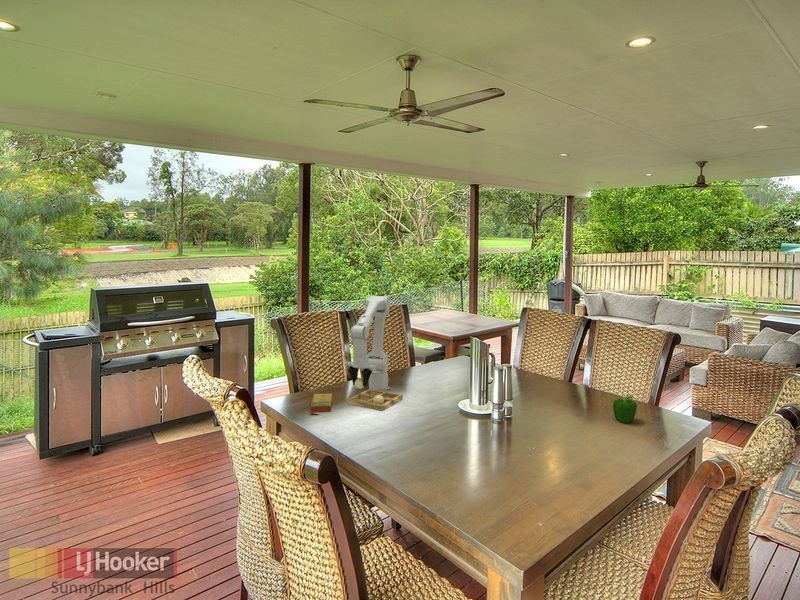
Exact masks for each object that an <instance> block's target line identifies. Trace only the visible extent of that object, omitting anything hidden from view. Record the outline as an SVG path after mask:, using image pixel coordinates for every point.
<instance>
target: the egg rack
mask: <svg viewBox="0 0 800 600" xmlns="http://www.w3.org/2000/svg"><path fill="white" fill-rule="evenodd" d="M376 395H381V396H382V397H383V398H384V403H383V405H378V404H374V403H373V398H374V397H375V396H376ZM403 397H404V396H403V394H400V393H394V392H389V391H385V390H372V389H369V388H368V389H367V390H365V391H362V392H360V393H359V394H356V395H353V396H352V397H350V398H347V405H348V406H354V407H359V408H363V409H368V410H374V411H379V412H383V411H385V410H387V409H389V408H390V407H392V406H393V405H396V404H397V403H399V402H401V401H402V400H403V399H404V398H403Z"/></svg>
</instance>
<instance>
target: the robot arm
mask: <svg viewBox="0 0 800 600" xmlns="http://www.w3.org/2000/svg"><path fill="white" fill-rule="evenodd" d="M365 304H366V305H365V306H366V309H365V312H364V313H363V314H361V315H360V317H359V319H358V320H357V322H356V325H353V326H352V327H351V329H350V337H351V343H352V357H353V358H352V359H353V360H352V361H344V367H346V368H347V372H348V374H349V375H350V377H351V380H352V385H354V386H355V381H356V379H358V378H359V377H358V376H359V375H358V374H359V369H360V370H361V371H360V372H361V378H363V387H364V388H365V387H367V386H368V389H372V390H378V391H388V390H390V386H389V373H388V372H387V371H388V369H389V357H388V355H387V353H386V352H385V351H384V350H383V349H384V337H385V328H386V327H385V325H386V317H387V316H388V315H389V314H390V307H391V300H390V297H389V296H388V295H385V296H382V295H368V296H367V297H366V301H365ZM373 318H374V319H373ZM373 322H374V325H373V336H372V338H373V339H372V349H371V351H369V352H368V345H367V344H368V339H369V335H370V328H371V327H372V324H373ZM367 352H368V353H367ZM387 389H388V390H387Z"/></svg>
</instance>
